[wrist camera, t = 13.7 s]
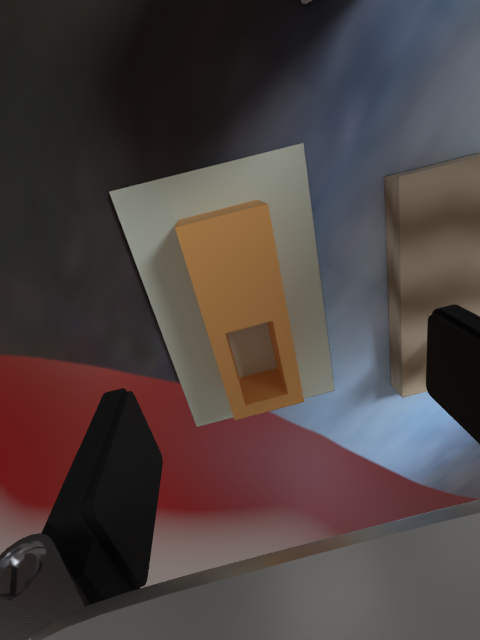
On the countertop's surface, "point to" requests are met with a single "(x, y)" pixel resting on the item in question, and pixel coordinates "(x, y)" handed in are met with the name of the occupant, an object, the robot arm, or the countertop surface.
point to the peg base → (429, 257)
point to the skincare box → (305, 1)
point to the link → (242, 300)
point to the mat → (177, 289)
